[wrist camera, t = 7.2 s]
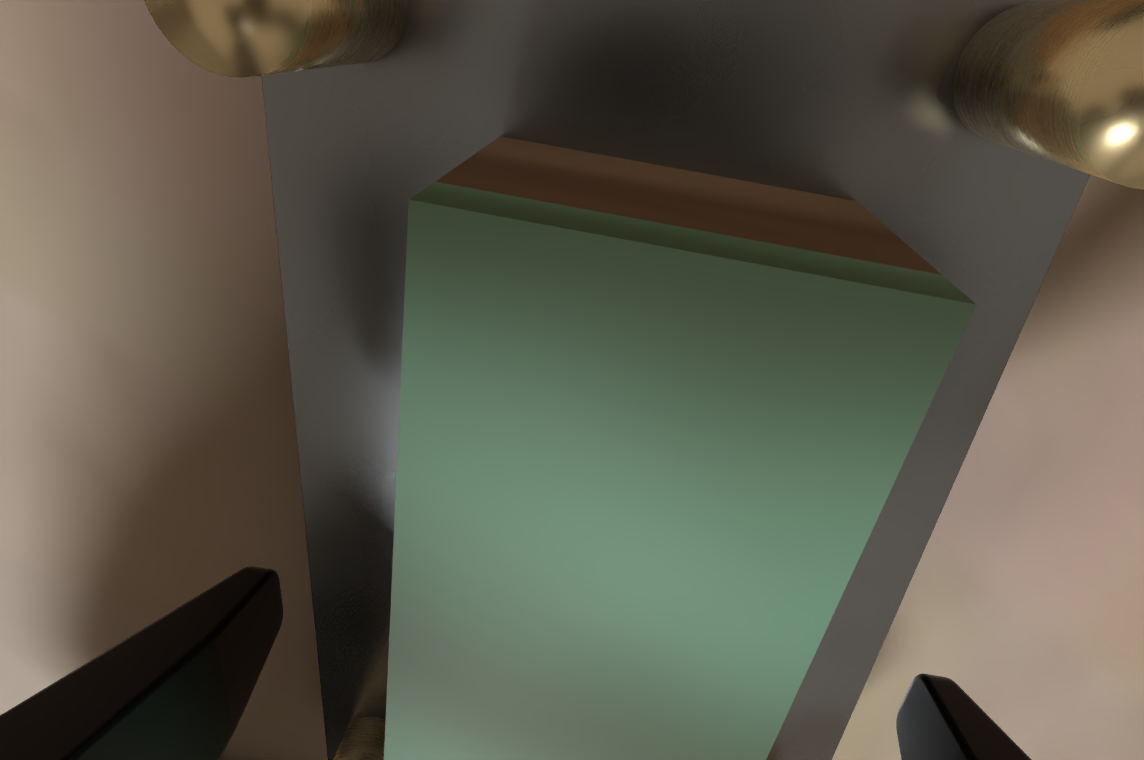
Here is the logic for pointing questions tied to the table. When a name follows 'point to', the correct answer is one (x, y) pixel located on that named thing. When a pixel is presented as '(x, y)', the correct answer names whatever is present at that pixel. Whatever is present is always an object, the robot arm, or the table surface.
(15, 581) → the table surface
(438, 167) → the plate
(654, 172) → the board block
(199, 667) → the robot arm
